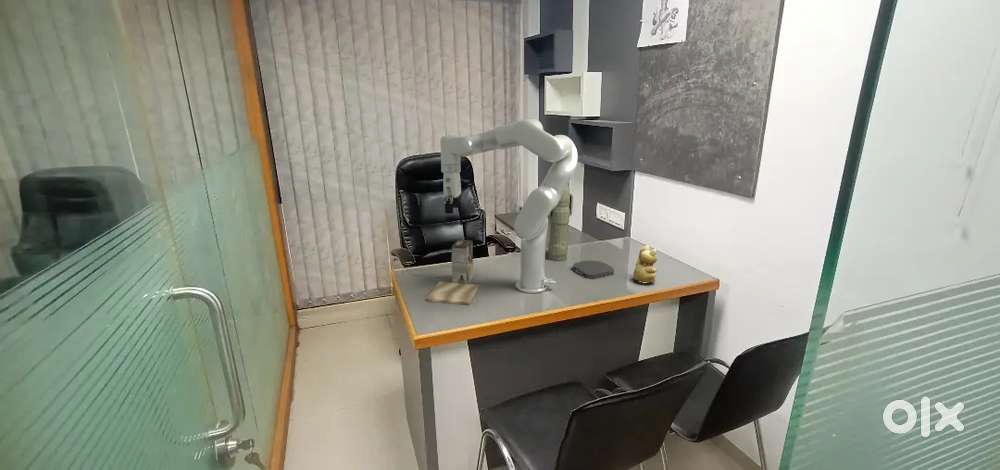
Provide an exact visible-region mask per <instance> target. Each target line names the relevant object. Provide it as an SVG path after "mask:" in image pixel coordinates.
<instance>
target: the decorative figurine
mask: <svg viewBox="0 0 1000 470" xmlns="http://www.w3.org/2000/svg"><path fill="white" fill-rule="evenodd" d="M657 252H658V250H657V248H654V249H651V250H650V246H649V245H647V244H646V245H645V246H643V247H641V248H640V251H639V254H638V257H637V260H636V263H635V268H634V270H633V278H634V280H635V281H637V280H638V281H641V282H652V283H655V281H656V278H657V274H656V272H657V271H658V269H657V268H656V267H654V264H655V263H656V262H657V261H658V255H657ZM638 281H637V282H638Z"/></svg>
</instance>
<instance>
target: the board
mask: <svg viewBox="0 0 1000 470" xmlns="http://www.w3.org/2000/svg"><path fill="white" fill-rule="evenodd" d="M479 289H480V284H472V283H468V284H462V283H452V281H451V282H449V281H448V282H447V281H439V282H438V283H437V285H436V286H435V287H434V288H433V290H432V291H431V292H430V293H429V294H428V295H427V296H426V302H433V303H446V304H454V305H464V306H465V305H467V306H470V304H471V303H472V300H473V299H474V297H475V295H476V294H477V292H478V291H479Z"/></svg>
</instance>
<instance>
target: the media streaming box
mask: <svg viewBox="0 0 1000 470" xmlns="http://www.w3.org/2000/svg"><path fill="white" fill-rule="evenodd" d="M573 270H574V271H573ZM572 271H573V272H575V273H576V272H577V273H576V274H578V275H579V276H581V275H582V277H583V276H584V277H583V278H585V277H586V278H585V279H588V278H589V280H596V279H595V278H598V279H602V278H601V277H604V278H606V277H605V276H609V275H612V276H614V275H615V274H614V272H615V270H614V267H612V266H611V265H609V264H607V263H605V262H604V261H603V262H602V261H598V260H589V259H588V260H582V261H579V262H575V263H573V265H572ZM609 277H610V276H609Z"/></svg>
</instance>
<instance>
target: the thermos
mask: <svg viewBox="0 0 1000 470" xmlns="http://www.w3.org/2000/svg"><path fill="white" fill-rule="evenodd" d="M570 192H571V191H570V186H569V184H568V185H567V187H566V189H565V191H564V193H563V194H562V196H561V198H560V200H559V202H558V204H557V206H556V207H555V208H554V209H553V210H552V211H551V212H550V213H549V215H548V219H549V222H550V223H549V224H550V226H549V227H550V228H549V242H548V243H547V245H548V246H547V247H548V248H547V253H548V254H547V259H548V258H549V261H550V260H551V261H552V260H553V262H564V260H565V261H566V260H567V258H568V257H567V256H568V250H569V249H568V247H569V245H568V230H569V229H568V227H569V223H570V218H571V216H572V215H573V207H574V205H573V204H574V195H572V193H570Z"/></svg>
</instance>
